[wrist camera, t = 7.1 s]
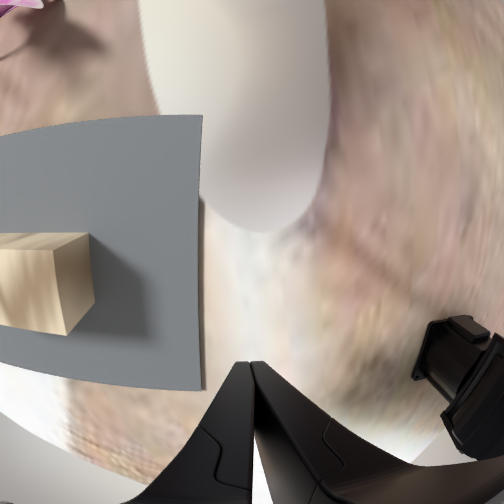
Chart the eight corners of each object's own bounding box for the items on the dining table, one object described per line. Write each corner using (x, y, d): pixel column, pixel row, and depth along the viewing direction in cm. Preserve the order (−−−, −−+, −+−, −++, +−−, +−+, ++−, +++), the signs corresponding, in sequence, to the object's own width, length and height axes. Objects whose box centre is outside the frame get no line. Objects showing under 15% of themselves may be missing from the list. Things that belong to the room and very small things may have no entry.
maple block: (66, 335, 14) (-36, 316, 13) (95, 302, 19) (-2, 292, 18) (52, 250, 13) (-50, 247, 12) (88, 232, 18) (-11, 233, 17)
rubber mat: (201, 388, 22) (201, 391, 22) (-9, 357, 20) (-11, 359, 19) (202, 116, 17) (202, 114, 17) (-38, 148, 15) (-41, 148, 14)
